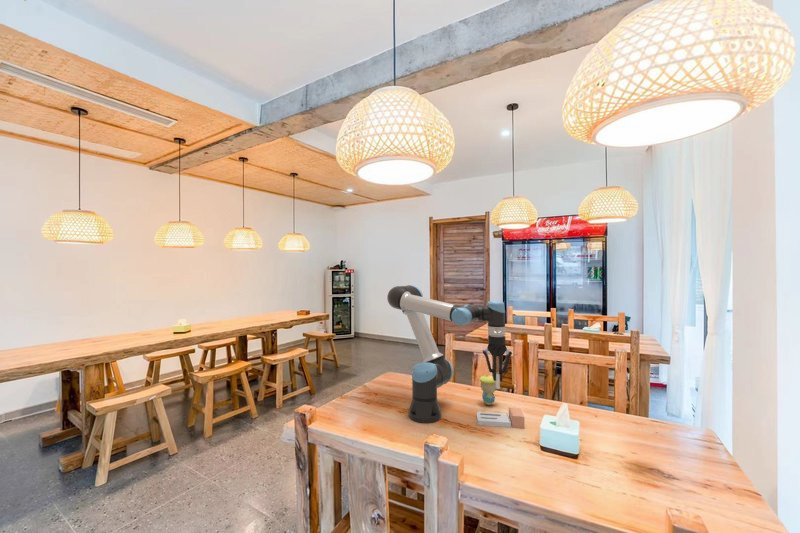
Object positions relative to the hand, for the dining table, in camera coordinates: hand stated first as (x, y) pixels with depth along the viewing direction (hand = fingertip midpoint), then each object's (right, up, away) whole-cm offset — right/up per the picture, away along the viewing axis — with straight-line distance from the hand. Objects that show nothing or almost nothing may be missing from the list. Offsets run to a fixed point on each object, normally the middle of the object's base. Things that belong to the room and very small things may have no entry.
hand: (497, 388), depth 143 cm
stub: (+8, -15, -2) cm, 17 cm away
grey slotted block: (-2, -15, 0) cm, 15 cm away
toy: (+1, -16, +19) cm, 25 cm away
